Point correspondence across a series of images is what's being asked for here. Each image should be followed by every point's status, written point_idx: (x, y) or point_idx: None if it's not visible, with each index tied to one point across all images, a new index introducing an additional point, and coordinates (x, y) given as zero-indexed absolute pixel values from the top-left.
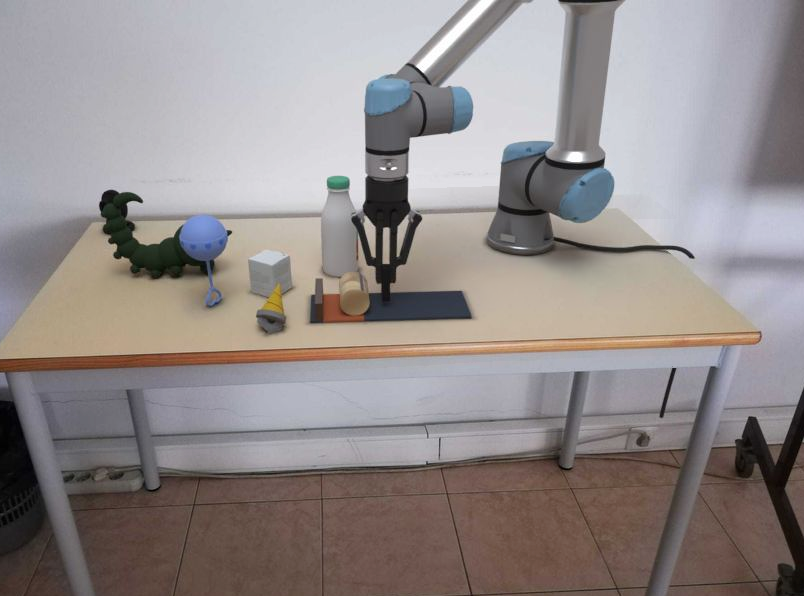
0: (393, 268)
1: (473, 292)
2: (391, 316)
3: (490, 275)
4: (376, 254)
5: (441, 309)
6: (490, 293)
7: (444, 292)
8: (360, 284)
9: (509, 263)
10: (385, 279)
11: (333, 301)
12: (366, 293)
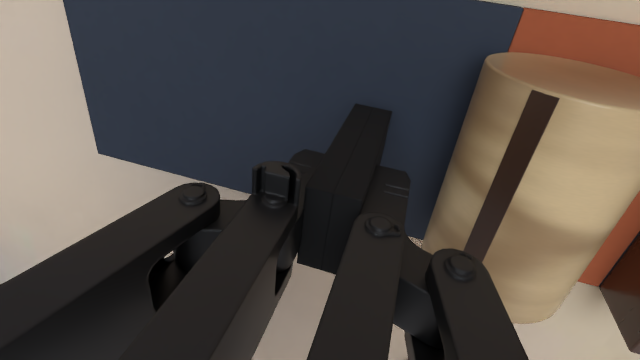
0: (281, 169)
1: (71, 142)
2: (376, 7)
3: (40, 220)
4: (391, 312)
5: (160, 27)
6: (24, 120)
7: (149, 157)
8: (521, 176)
9: (7, 258)
10: (355, 159)
11: None
12: (510, 87)
